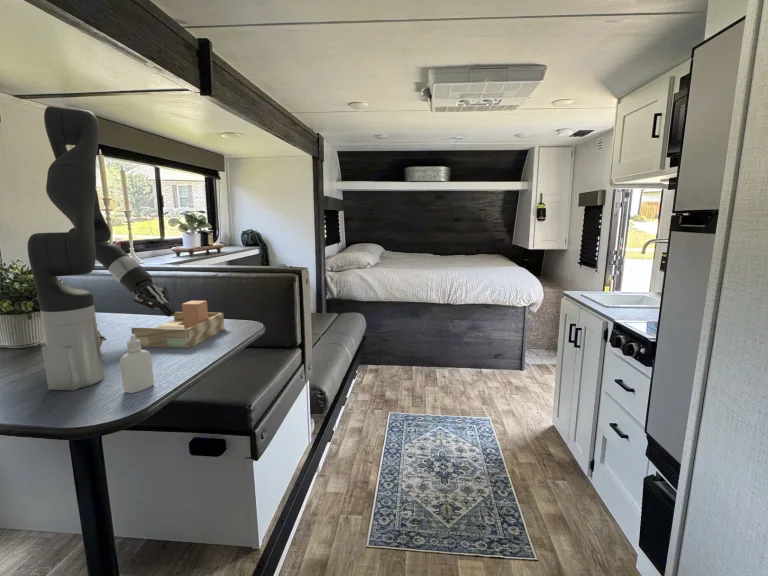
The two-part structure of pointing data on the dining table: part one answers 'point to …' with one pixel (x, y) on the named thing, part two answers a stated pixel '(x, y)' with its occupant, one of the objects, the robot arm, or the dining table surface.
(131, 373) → the eye dropper bottle
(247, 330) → the dining table surface
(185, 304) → the terracotta block
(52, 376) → the robot arm
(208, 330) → the wooden tray
